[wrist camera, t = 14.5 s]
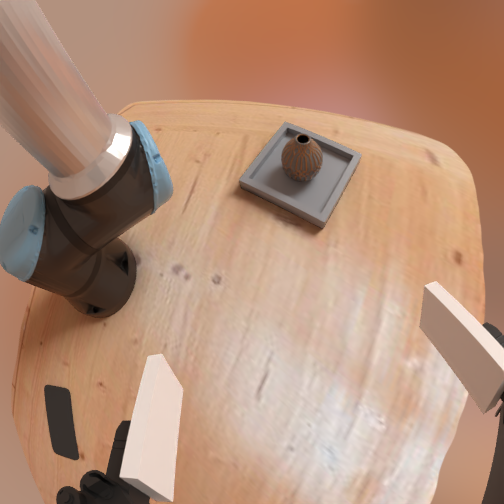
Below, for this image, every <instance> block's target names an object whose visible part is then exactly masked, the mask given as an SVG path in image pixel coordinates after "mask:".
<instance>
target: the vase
mask: <svg viewBox="0 0 504 504" xmlns="http://www.w3.org/2000/svg"><path fill="white" fill-rule="evenodd" d="M281 162H282V166H283V169H284V171H285V172H286V174H287V175H288V176H289V177H290V178H292V179H294V180H296V181H309V180H311V179H313V178H314V177H315V176H317V174H318V173H319V172H320V170H321V167H322V163H323V155H322V151H321V149H320V147H319V145H318V144H317V143H316V142H315V141H314V140H313V139H311V138H310V136H309V135H307V134H304V133H301V134H298V135H297V136H296V137H295V138H293V139H291V140H290V141H288V142H287V143H286V145H285V146H284V148H283V151H282V155H281Z"/></svg>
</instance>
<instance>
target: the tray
mask: <svg viewBox="0 0 504 504" xmlns="http://www.w3.org/2000/svg"><path fill="white" fill-rule="evenodd" d="M301 133H304V134H307V135H309V136H310V138H311V139H313V140H314V141H315V142H316V143H317V144H318V145H319V147H320V149H321V151H322V155H323V163H322V167H321V170H320V172H319V173H318V174H317V176H315V177H314V178H313V179H311V180H309V181H296V180H294V179H292V178H290V177H289V176H288V175H287V174H286V172H285V171H284V169H283V166H282V162H281V155H282V151H283V148H284V146H285V145H286V143H287V142H288V141H290V140H291V139H293V138H295V137H296V136H297V135H298V134H301ZM361 156H362V154H360V153H358V152H356V151H354V150H352V149H350V148H347V147H345V146H343V145H341V144H339V143H336V142H334V141H332V140H329V139H327V138H325V137H322V136H320V135H318V134H315V133H313V132H310V131H308V130H305V129H303V128H300V127H298V126H295V125H293V124H290V123H287V122H284V123H283V125H282V126H281V127H280V128H279V130H278V131H277V132H276V133H275V135H274V136H273V137H272V138H271V140H270V141H269V142H268V143H267V145H266V146H265V147H264V148H263V150H262V151H261V152H260V154H259V155H258V156H257V157H256V159H255V160H254V161H253V163H252V164H251V165H250V166H249V168H248V169H247V170H246V172H245V173H244V174H243V176H242V177H241V178H240V179H239V182H240V186H241V188H242V189H244V190H247V191H249V192H251V193H253V194H255V195H257V196H259V197H261V198H263V199H265V200H267V201H269V202H271V203H273V204H275V205H277V206H279V207H281V208H283V209H285V210H287V211H289V212H291V213H293V214H295V215H297V216H299V217H301V218H303V219H305V220H307V221H309V222H310V223H312V224H314V225H316V226H318V227H320V228H322V229H323V228H324V227H325V225H326V223H327V221H328V219H329V218H330V216H331V214H332V212H333V210H334V209H335V207H336V205H337V203H338V201H339V200H340V198H341V196H342V194H343V192H344V190H345V189H346V187H347V185H348V183H349V181H350V179H351V177H352V176H353V174H354V172H355V170H356V168H357V166H358V164H359V162H360V159H361Z"/></svg>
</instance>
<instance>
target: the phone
mask: <svg viewBox="0 0 504 504" xmlns="http://www.w3.org/2000/svg"><path fill="white" fill-rule="evenodd" d="M44 392H45V402H46V411H47V418H48V425H49V431H50V437H51V442H52V447H53V450H54V452H55V453H56V454H59V455H61V456H64V457H67V458H70V459H73V460H78V459H79V453H78V448H77V442H76V436H75V430H74V423H73V414H72V406H71V396H70V392H69V390H68V389H66V388H62V387H56V386H51V385H46V386H45V388H44Z"/></svg>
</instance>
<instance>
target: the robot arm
mask: <svg viewBox="0 0 504 504" xmlns="http://www.w3.org/2000/svg"><path fill="white" fill-rule="evenodd" d="M0 125H1V126H2V127H3V128H4V129H5V130H6V131H7V132H8V133H9V134H10V135H11V136H12V137H13V138H14V139H15V140H16V141H17V142H18V143H19V144H20V145H21V146H22V147H23V148H24V149H25V150H26V151H28V152H29V153H30V154H31V155H32V156H33V157H34V158H35V159H36V160H37V161H38V162H40V163H41V164H42V165H43V166H44V167H45V168H46V169H47V170H48V171H49V174H48V180H49V186H48V187H47V188H45V189H44V190H43V191H42V190H41V188H40V187H38V186H34V185H31V186H25V187H24V188H22V189H21V190H20V191H18V192H17V193H16V195H15V196H14V197H13V198H12V200H11V201H10V203H9V205H8V206H7V209H6V210H5V212H4V215H3V218H2V220H1V224H0V264H1V266H2V267H3V269H4V270H5V271H7V272H8V273H10V274H11V275H13V276H15V277H17V278H18V279H19V280H21V281H23V282H26V283H29V284H31V285H34V286H37V287H39V288H42V289H45V290H48V291H50V292H53V293H56V294H59V295H62V296H64V297H65V298H66V299H67V300H68V301H69V302H70V303H71V304H72V305H73V306H74V307H75V308H76V309H77V310H78V311H80V312H81V313H83V314H85V315H89V316H92V317H97V318H101V317H107V316H110V315H112V314H114V313H115V312H117V311H118V310H119V309H120V308H121V307H122V306H123V305H124V304H125V303H126V302H127V300H128V299H129V297H130V295H131V293H132V291H133V288H134V285H135V280H136V262H135V258H134V255H133V253H132V251H131V249H130V248H129V247H128V246H127V245H126V244H125V243H124V242H123V241H121V240H120V239H119V238H117V237H118V236H120V235H121V234H123V233H124V232H126V231H127V230H128V229H130V228H131V227H133V226H134V225H136V224H137V223H139V222H140V221H142V220H143V219H145V218H146V217H148V216H149V215H152V214H153V213H155V211H156V210H157V209H158V208H159V207H160V206H162V205H163V204H164V203H166V202H167V201H168V200H169V199H170V198H171V196H172V194H173V184H172V181H171V178H170V175H169V172H168V170H167V167H166V165H165V163H164V161H163V159H162V158H161V156H160V153H159V151H158V148H157V146H156V144H155V142H154V140H153V138H152V136H151V135H150V133H149V131H148V129H147V128H146V126H145V125H144V124H143V123H142V122H141V121H139V120H138V121H134V122H128V121H127V120H126V119H125V118H124V117H122V116H120V115H117V114H106V113H105V111H104V109H103V108H102V106H101V105H100V103H99V102H98V100H97V99H96V97H95V96H94V94H93V93H92V91H91V90H90V89H89V87H88V85H87V84H86V82H85V81H84V79H83V78H82V76H81V74H80V73H79V71H78V70H77V68H76V67H75V65H74V63H73V62H72V60H71V59H70V57H69V56H68V54H67V52H66V51H65V49H64V47H63V46H62V44H61V42H60V41H59V39H58V37H57V36H56V34H55V32H54V31H53V29H52V27H51V26H50V24H49V22H48V21H47V19H46V17H45V16H44V14H43V12H42V11H41V9H40V7H39V5H38V4H37V2H36V0H0ZM419 327H420V328H421V330H422V331H423V332H424V333H425V335H426V336H427V337H428V338H429V340H430V341H431V342H432V344H433V345H434V346H435V347H436V349H437V350H438V351H439V353H440V354H441V355H442V357H443V358H444V359H445V361H446V362H447V363H448V365H449V366H450V367H451V369H452V370H453V371H454V373H455V374H456V375H457V377H458V378H459V380H460V381H461V382H462V384H463V385H464V387H465V388H466V390H467V391H468V392H469V394H470V395H471V397H472V398H473V400H474V401H475V403H476V404H477V406H478V407H479V409H480V410H481V412H482V413H483V414H484V413H486V412H487V411H489V410H490V409H492V408H493V407H495V406H496V404H497V402H498V401H499V399H500V398H501V400H502V401H503V403H502V404H501V406H500V407H499V409H498V410H497V412H496V415H495V416H496V417H497V416H498V414H499V413H500V422H499V429H498V436H497V442H496V448H495V453H494V458H493V463H492V467H491V472H490V476H489V480H488V484H487V487H486V491H485V494H484V497H483V501H482V504H504V335H502V333H501V332H500V331H499V330H498V329H497V328H496V327H494V326H493V325H491V324H489V323H485V324H483V325H481V324H480V323H479V322H478V321H477V320H476V319H475V318H474V317H473V316H472V315H471V314H470V313H469V312H468V311H467V310H466V309H465V308H464V307H463V306H462V305H461V304H460V303H459V302H458V301H457V300H456V299H455V298H454V297H453V296H452V295H450V294H449V293H448V292H447V291H446V290H445V289H444V288H443V287H442V286H441V285H440V284H439V283H437V282H436V281H435V282H432V283H429V284H427V285H424V294H423V303H422V312H421V319H420V326H419ZM182 396H183V388H182V386H181V385H180V383H179V382H178V380H177V378H176V377H175V375H174V373H173V372H172V370H171V368H170V367H169V365H168V363H167V362H166V360H165V358H164V356H163V355H162V354H157V355H150V356H148V358H147V361H146V365H145V369H144V372H143V376H142V380H141V383H140V387H139V391H138V395H137V399H136V403H135V407H134V411H133V415H132V420H131V421H122V422H121V424H120V425H119V427H118V428H117V430H116V434H115V438H114V442H113V446H112V448H113V449H112V450H111V454H110V459H109V463H108V467H107V472H106V475H105V474H104V473H102V472H100V471H98V470H92V471H89V472H87V473H86V474H85V475H83V477H82V479H81V481H80V488H81V491H78V490H76V489H75V488H73V487H70V486H65V487H63V488H61V489H60V490H59V491H58V494H57V499H56V501H57V504H150V503H149V499H150V498H152V499H154V500H155V501H163V502H173V494H174V479H175V466H176V454H177V443H178V433H179V423H180V414H181V405H182ZM500 411H501V412H500Z"/></svg>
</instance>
